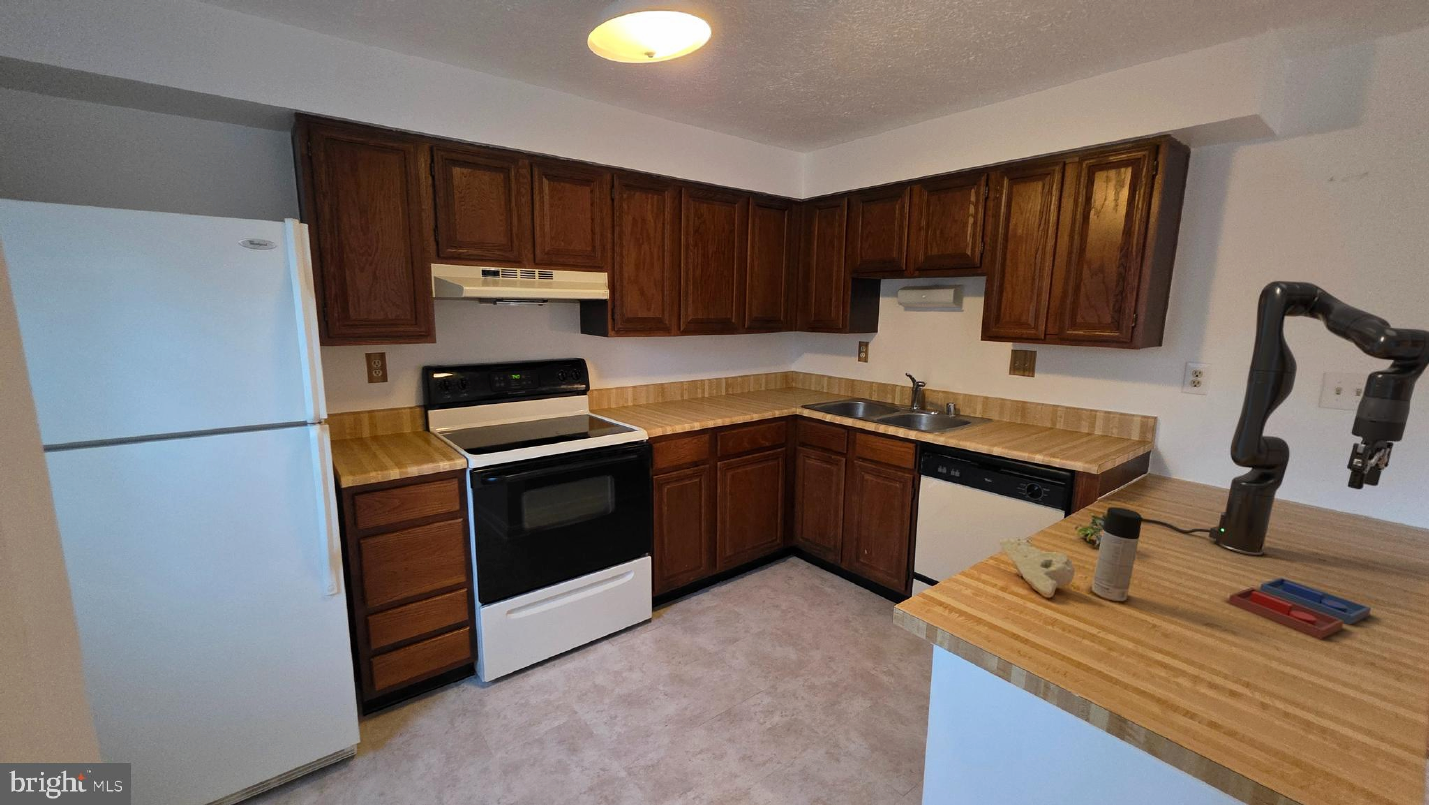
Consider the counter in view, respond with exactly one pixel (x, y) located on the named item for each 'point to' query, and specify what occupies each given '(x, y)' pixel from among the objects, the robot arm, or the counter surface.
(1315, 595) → the blue spoon
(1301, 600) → the blue tray
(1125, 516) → the spray can
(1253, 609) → the red tray
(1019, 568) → the bone fragment
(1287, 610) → the red spoon
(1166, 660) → the counter surface
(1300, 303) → the robot arm
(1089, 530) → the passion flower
